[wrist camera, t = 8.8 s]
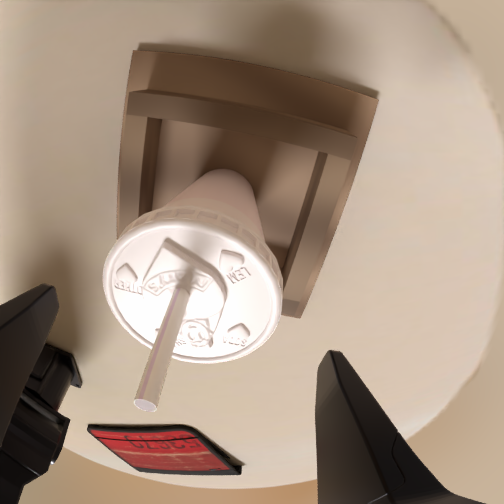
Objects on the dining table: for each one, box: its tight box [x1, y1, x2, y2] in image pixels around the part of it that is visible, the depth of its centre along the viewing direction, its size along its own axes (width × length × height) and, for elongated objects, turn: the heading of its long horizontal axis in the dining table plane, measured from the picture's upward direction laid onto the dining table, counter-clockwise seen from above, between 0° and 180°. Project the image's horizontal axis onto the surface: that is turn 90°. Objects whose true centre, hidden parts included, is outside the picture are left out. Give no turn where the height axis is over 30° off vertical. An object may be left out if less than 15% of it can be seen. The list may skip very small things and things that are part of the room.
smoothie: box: [103, 169, 283, 412], centre depth 13 cm, size 6×6×14 cm
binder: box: [87, 425, 242, 475], centre depth 40 cm, size 16×2×21 cm
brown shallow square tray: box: [117, 50, 379, 318], centre depth 18 cm, size 16×14×3 cm
